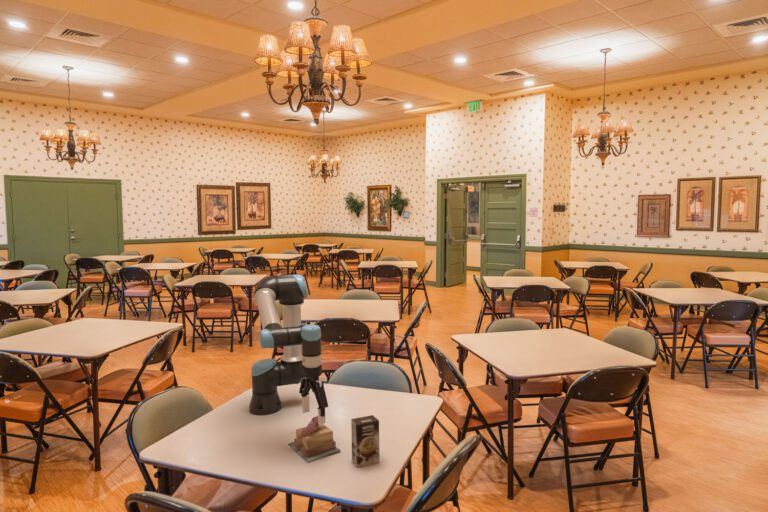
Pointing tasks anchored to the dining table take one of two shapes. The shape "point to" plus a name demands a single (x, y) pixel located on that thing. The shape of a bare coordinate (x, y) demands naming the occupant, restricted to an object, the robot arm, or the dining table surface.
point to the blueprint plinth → (315, 444)
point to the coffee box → (365, 440)
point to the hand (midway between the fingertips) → (313, 417)
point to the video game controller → (311, 426)
